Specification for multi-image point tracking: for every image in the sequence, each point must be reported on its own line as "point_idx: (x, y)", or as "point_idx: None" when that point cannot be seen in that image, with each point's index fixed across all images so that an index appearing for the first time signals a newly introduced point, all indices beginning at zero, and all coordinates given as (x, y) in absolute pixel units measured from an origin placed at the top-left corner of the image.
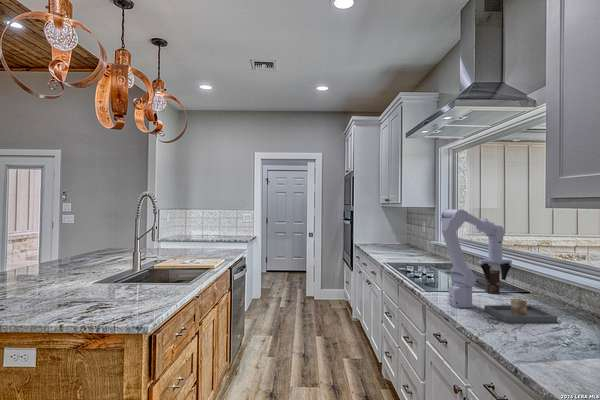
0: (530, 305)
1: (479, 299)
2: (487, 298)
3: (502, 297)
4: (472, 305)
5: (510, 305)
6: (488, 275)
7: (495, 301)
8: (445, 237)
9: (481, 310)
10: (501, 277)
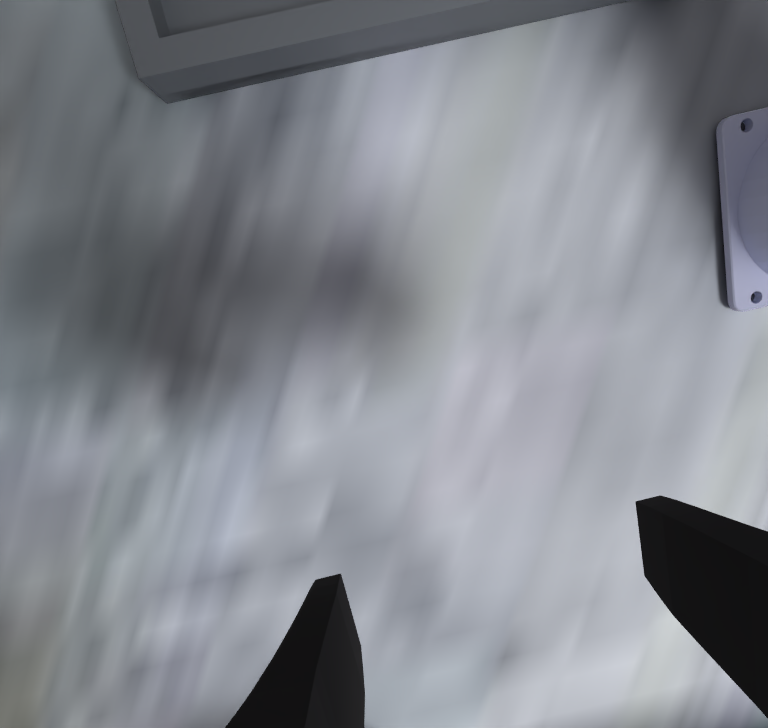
0: (149, 52)
1: (557, 491)
2: (464, 549)
3: None
4: (748, 157)
5: (405, 3)
6: (734, 529)
7: (423, 445)
8: None
9: (696, 19)
10: (363, 681)
